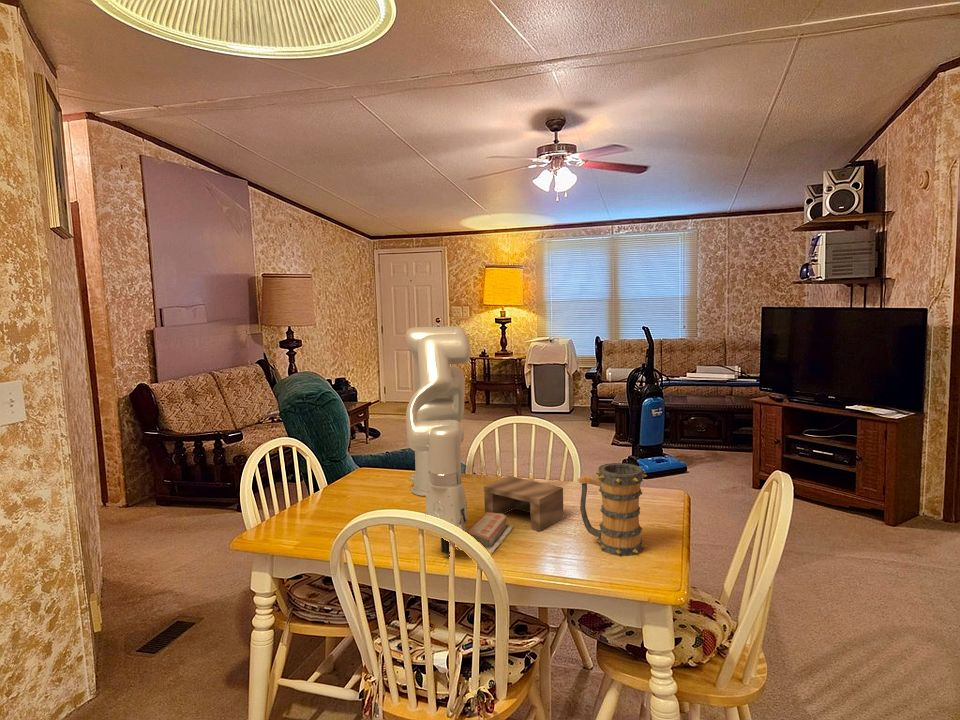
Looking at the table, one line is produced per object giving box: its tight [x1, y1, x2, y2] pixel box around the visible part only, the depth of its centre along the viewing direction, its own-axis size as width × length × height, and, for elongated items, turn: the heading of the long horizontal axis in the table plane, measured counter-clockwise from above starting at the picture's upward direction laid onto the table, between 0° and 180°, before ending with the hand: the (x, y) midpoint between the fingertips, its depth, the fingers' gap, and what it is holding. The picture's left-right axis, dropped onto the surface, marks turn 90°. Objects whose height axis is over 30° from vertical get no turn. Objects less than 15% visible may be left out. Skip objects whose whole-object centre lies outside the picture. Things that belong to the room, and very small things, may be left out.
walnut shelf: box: [483, 475, 564, 532], centre depth 167 cm, size 19×12×9 cm, turn 51°
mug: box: [576, 462, 648, 557], centre depth 146 cm, size 13×17×20 cm
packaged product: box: [455, 512, 515, 555], centre depth 153 cm, size 18×5×10 cm
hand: (448, 551), depth 143 cm, fingers closed
